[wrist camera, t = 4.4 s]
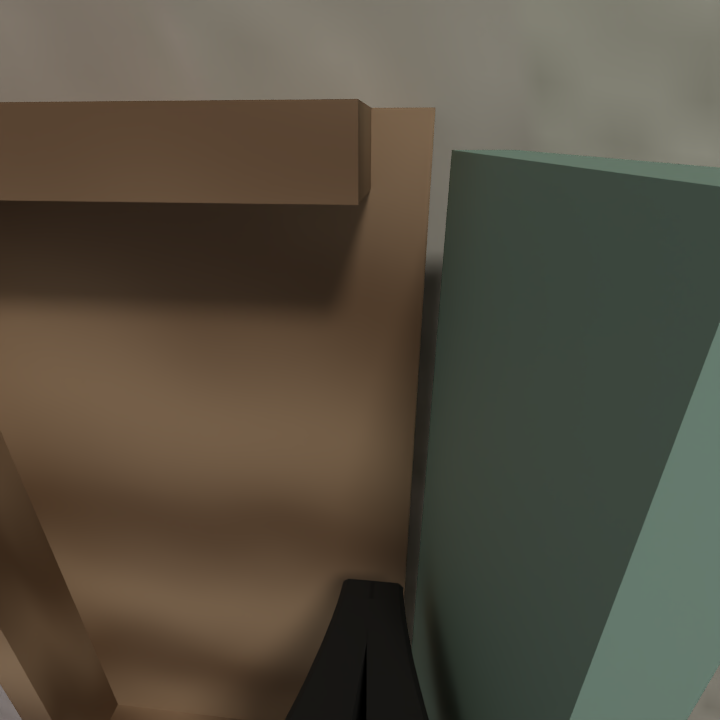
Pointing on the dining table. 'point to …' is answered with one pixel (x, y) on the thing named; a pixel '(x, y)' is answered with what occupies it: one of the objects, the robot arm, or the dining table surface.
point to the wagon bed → (201, 393)
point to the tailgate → (573, 443)
